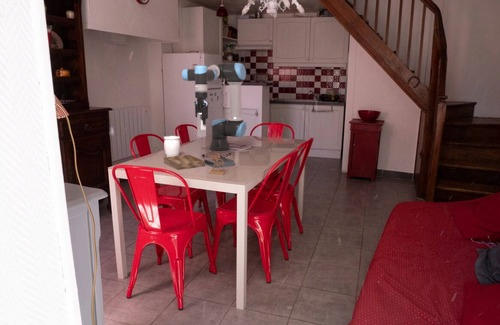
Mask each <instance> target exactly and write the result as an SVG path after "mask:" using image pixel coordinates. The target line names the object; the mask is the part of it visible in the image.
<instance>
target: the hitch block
mask: <svg viewBox="0 0 500 325" xmlns="http://www.w3.org/2000/svg"><path fill="white" fill-rule="evenodd" d="M219 157H220V158H218V157H216V159H217V160H218V159H221V160H223V162H224V165H223V164H222V165H221V164H220V167H221V168H226V167H227V168H228V167H234V166H235V160H232V159H231V158H226V157H224V156H219ZM211 158H212V157H211ZM211 158H210V157H209V158H204V159H203V160H204V161H205V165H206V166H208V167H211V168H213V167H214V165H215V164H216V165H215V167H214V168H213V169H216V168H217V167H218V168H217V169H221V168H220V167H219V166H218V165H219V162H221V163H223V162H222V161H221V160H219V161H218V162H217V161H216V159H215V158H214V159H212V160H213V161H215V162H213V161H212V160H211ZM217 163H218V164H217Z"/></svg>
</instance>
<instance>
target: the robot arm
mask: <svg viewBox="0 0 500 325" xmlns="http://www.w3.org/2000/svg"><path fill="white" fill-rule="evenodd" d="M246 76H247V70H246V68H245V66H244V64H243V63H241V62H221V63H220V62H219V63H217V64H216V63H215V64H212V65H209V66H207V65H196V66H195V65H194V68H185V69H183V70H182V72H181V78H182V80H183V81H184V82H194V89H195V90H194V91H195V93H194V97H195V99H196V100H195V101H194V112H195V113H194V114H195V116H194V117H195V118H197V113H200V112H201V113H202V119H201V130H206V131H207V119H209V103H210V102H207V98H208V82H215V81H216V80H217V79H219V80H226V82H227V84H228V85H229V86H228V88H229V90H228V91H229V93H228V94H229V117H228V118H217V119H213V120H211V141H210V144H209V150H211V151H218V150H221V151H228V150H229V149H230V144H229V141H228V137H233V138H242V137H244V136H245V134H246V130H247V122H245V121H244V117H242V84H243V83H244V80H245V79H246ZM227 149H228V150H227Z"/></svg>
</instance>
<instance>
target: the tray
mask: <svg viewBox="0 0 500 325" xmlns="http://www.w3.org/2000/svg"><path fill="white" fill-rule="evenodd" d="M163 163H164V164H166V165H168V166H170V167H172V168H173V169H175V170H178V171H179V170H186V169H194V168H201V167H202V168H203V167H205V165H206V164H205V161H204V159H201V158H199V157H196V156H193V155H191V154H181V155H178V156H172V157H167V156H165V157H163Z"/></svg>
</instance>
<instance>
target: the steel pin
mask: <svg viewBox="0 0 500 325" xmlns="http://www.w3.org/2000/svg"><path fill="white" fill-rule="evenodd" d="M201 119H202V113H201V112H200V113H197V117H196V122H197V123H196V124H197V125H196V126H197V127H196V128H197V129H196V130H197V131H196V132H197V136H196V137H197V138H206V137H207V129H206V130H201Z"/></svg>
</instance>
